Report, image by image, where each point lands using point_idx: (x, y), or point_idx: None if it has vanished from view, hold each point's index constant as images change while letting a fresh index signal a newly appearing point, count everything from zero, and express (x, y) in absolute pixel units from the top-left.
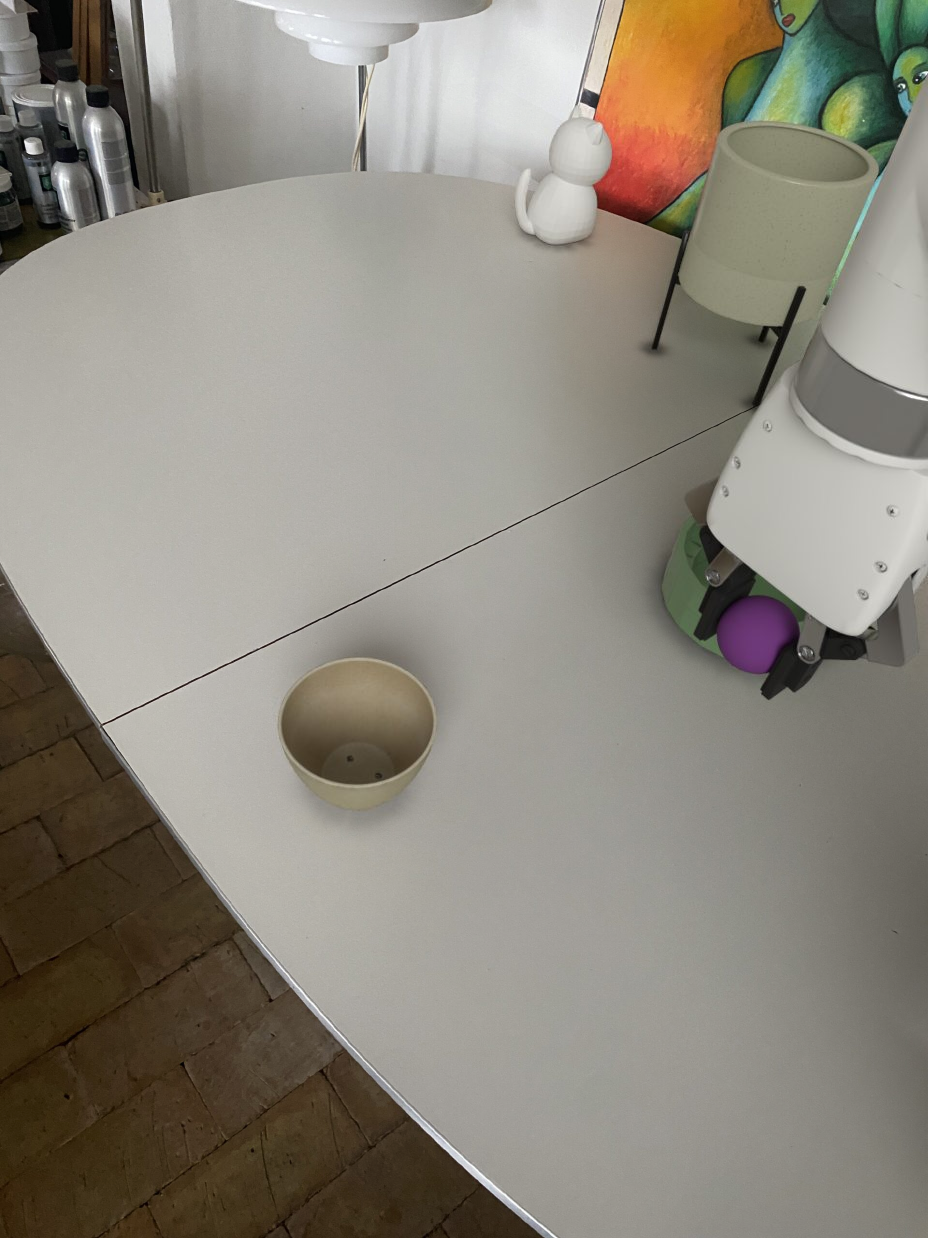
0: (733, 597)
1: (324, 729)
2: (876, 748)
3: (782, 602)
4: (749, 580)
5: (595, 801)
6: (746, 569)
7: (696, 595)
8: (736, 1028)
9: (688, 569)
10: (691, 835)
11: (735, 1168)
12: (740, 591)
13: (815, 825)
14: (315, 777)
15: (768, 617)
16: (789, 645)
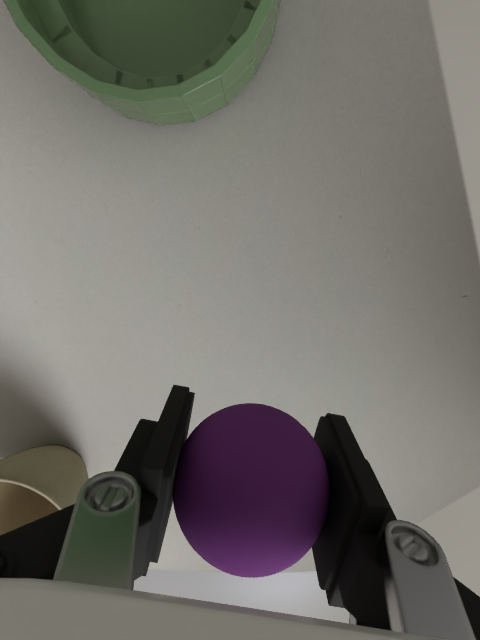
0: (167, 512)
1: (4, 485)
2: (395, 100)
3: (257, 485)
4: (163, 489)
5: (202, 366)
6: (139, 534)
7: (107, 99)
8: (380, 438)
9: (64, 66)
10: (282, 337)
11: (411, 499)
12: (168, 502)
13: (370, 248)
14: None
15: (258, 568)
16: (327, 579)
